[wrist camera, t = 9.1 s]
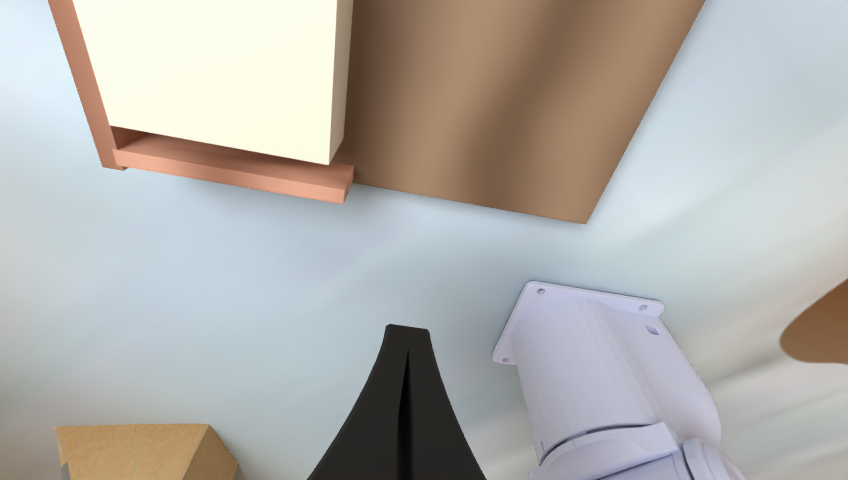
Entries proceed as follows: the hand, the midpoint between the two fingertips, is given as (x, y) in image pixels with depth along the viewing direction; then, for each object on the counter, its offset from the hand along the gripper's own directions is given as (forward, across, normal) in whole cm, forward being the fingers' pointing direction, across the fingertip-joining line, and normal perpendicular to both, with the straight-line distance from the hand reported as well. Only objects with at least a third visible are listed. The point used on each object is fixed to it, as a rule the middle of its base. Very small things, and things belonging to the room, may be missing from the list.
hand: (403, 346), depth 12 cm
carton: (+8, +8, -7) cm, 13 cm away
